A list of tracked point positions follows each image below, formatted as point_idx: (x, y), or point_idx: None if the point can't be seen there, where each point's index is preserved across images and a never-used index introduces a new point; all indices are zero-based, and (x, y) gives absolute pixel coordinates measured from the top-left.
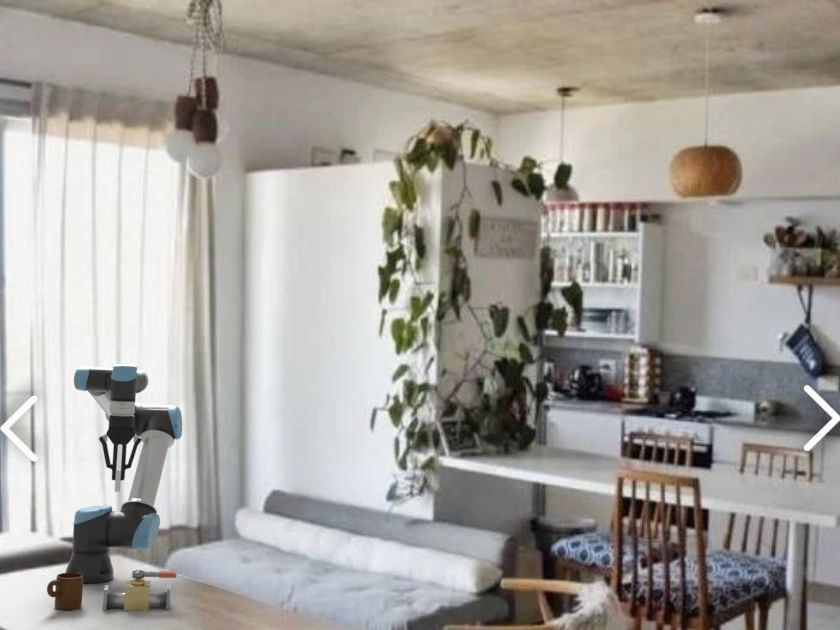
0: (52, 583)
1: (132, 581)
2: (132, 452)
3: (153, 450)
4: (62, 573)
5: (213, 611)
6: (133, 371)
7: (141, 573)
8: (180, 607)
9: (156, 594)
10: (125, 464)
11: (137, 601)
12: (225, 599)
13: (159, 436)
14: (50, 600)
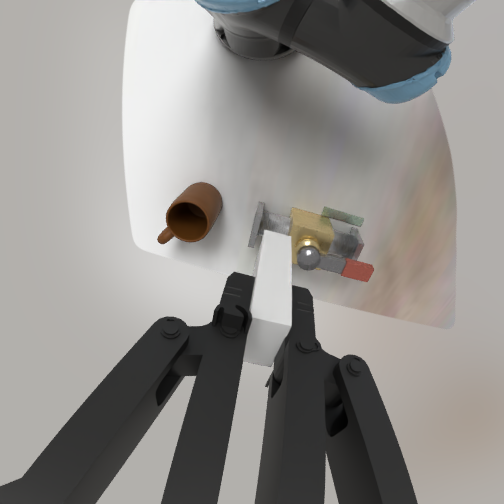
0: (162, 243)
1: (296, 255)
2: (346, 496)
3: None
4: (174, 205)
5: (393, 276)
6: None
7: (310, 269)
8: (364, 247)
9: (333, 252)
10: (323, 369)
11: None
12: (434, 229)
13: None
14: (179, 156)
